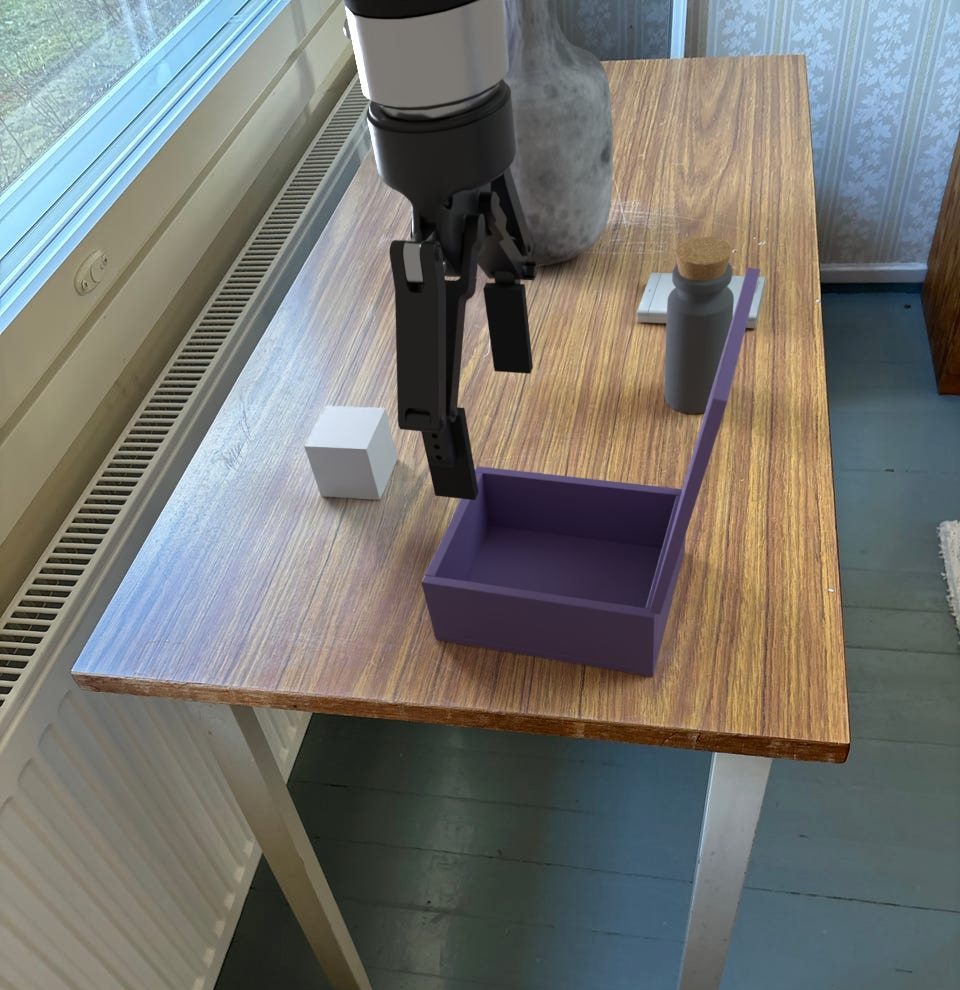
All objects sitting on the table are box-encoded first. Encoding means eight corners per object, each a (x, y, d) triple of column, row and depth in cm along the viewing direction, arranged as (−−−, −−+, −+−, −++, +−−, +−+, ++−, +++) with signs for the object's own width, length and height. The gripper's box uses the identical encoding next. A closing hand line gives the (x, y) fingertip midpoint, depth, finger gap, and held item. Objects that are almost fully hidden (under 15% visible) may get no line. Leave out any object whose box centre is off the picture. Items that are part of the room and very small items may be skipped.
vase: (496, 299, 107) (459, -4, 84) (470, 235, 118) (431, -50, 95) (631, 269, 108) (630, -41, 85) (593, 208, 118) (584, -82, 95)
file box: (435, 640, 75) (420, 582, 70) (486, 525, 83) (476, 465, 78) (652, 677, 70) (654, 618, 65) (685, 551, 78) (688, 489, 73)
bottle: (723, 415, 89) (736, 267, 77) (660, 413, 90) (665, 267, 79) (727, 379, 92) (740, 232, 81) (667, 377, 94) (672, 232, 82)
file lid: (712, 398, 50) (727, 401, 50) (747, 266, 58) (760, 269, 58) (649, 612, 65) (660, 615, 65) (683, 483, 73) (694, 486, 72)
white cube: (397, 458, 91) (385, 407, 86) (380, 500, 87) (366, 449, 83) (340, 455, 92) (325, 405, 88) (320, 496, 89) (303, 446, 84)
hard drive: (766, 275, 101) (651, 269, 104) (757, 316, 96) (636, 309, 99) (764, 289, 102) (651, 283, 105) (755, 331, 97) (636, 323, 100)
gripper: (443, 5, 56) (486, 323, 72) (267, 206, 41) (371, 549, 57) (565, -1, 54) (581, 328, 70) (426, 209, 39) (487, 564, 55)
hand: (487, 428), depth 64 cm, fingers open, 13 cm apart
